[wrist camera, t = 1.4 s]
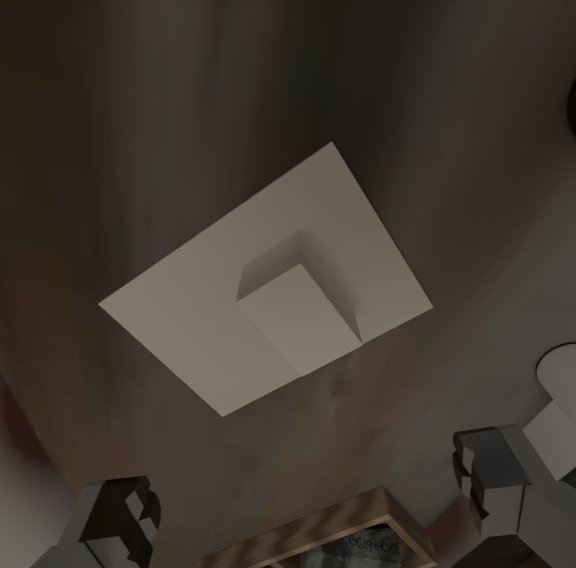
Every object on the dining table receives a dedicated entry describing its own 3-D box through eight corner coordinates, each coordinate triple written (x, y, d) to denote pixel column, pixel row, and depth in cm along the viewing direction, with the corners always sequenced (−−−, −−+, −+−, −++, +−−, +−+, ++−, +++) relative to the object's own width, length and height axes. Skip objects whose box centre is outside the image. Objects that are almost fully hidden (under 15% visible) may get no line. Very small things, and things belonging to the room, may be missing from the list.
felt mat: (331, 140, 34) (332, 141, 34) (432, 305, 43) (433, 307, 42) (99, 301, 42) (98, 303, 42) (222, 414, 50) (222, 416, 50)
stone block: (308, 515, 61) (310, 551, 57) (398, 523, 62) (407, 559, 58) (299, 547, 65) (300, 583, 61) (383, 554, 66) (390, 589, 62)
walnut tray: (381, 486, 58) (388, 514, 54) (429, 537, 64) (437, 565, 61) (195, 560, 67) (191, 588, 64) (253, 598, 74) (252, 625, 70)
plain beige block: (298, 231, 38) (300, 262, 32) (352, 305, 42) (363, 345, 36) (242, 266, 40) (235, 302, 34) (299, 334, 44) (302, 376, 38)
